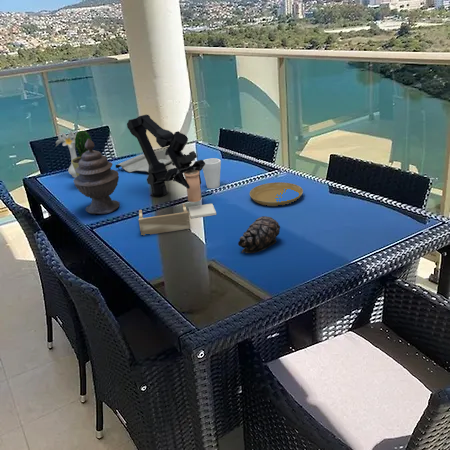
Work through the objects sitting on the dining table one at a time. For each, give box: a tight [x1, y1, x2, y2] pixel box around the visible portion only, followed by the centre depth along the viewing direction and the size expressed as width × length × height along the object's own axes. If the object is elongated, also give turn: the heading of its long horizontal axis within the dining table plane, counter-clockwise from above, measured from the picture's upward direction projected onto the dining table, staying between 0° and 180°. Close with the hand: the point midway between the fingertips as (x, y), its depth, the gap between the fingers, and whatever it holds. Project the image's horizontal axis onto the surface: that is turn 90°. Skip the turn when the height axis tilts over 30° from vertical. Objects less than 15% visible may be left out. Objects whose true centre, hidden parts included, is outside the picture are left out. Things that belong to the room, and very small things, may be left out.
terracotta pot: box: [183, 170, 203, 203], centre depth 209 cm, size 7×7×13 cm
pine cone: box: [237, 215, 281, 254], centre depth 175 cm, size 10×18×10 cm, turn 143°
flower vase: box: [55, 130, 88, 178], centre depth 268 cm, size 13×18×25 cm
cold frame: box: [138, 203, 191, 236], centre depth 201 cm, size 18×20×7 cm
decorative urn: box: [73, 138, 121, 215], centre depth 215 cm, size 20×20×34 cm
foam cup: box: [202, 157, 222, 189], centre depth 236 cm, size 10×9×13 cm
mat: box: [115, 153, 173, 174], centre depth 277 cm, size 23×24×5 cm
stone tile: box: [187, 203, 217, 219], centre depth 210 cm, size 11×11×1 cm
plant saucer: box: [249, 181, 304, 207], centre depth 218 cm, size 24×24×3 cm
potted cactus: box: [71, 129, 92, 176], centre depth 249 cm, size 15×15×30 cm
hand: (195, 186), depth 208 cm, fingers closed on terracotta pot, 6 cm apart
